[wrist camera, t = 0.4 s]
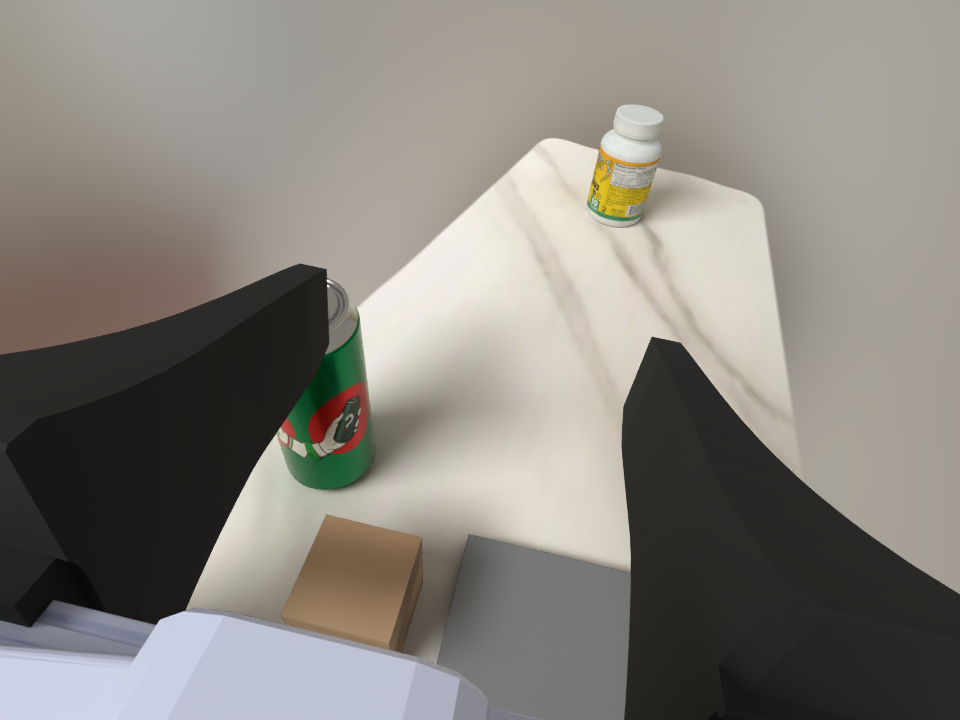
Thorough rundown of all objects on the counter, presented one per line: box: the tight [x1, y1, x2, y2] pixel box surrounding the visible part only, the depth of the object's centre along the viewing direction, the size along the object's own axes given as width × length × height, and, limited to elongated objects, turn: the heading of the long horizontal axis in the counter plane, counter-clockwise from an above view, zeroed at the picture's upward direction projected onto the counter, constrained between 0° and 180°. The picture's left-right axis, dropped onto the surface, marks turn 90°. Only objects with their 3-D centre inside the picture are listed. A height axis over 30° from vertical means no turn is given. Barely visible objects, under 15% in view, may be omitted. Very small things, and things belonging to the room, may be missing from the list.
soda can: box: [276, 278, 375, 490], centre depth 28 cm, size 5×5×12 cm
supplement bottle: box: [587, 105, 663, 227], centre depth 50 cm, size 5×5×10 cm
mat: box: [437, 534, 631, 720], centre depth 25 cm, size 12×12×1 cm
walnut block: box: [281, 514, 423, 653], centre depth 25 cm, size 4×4×5 cm
